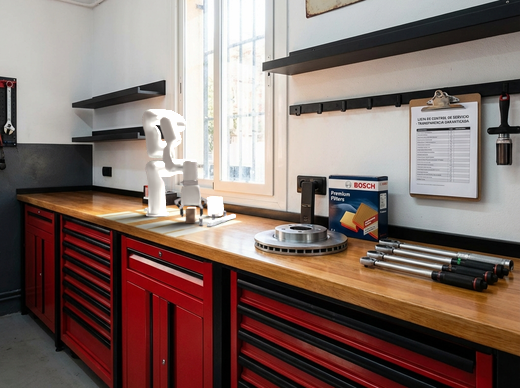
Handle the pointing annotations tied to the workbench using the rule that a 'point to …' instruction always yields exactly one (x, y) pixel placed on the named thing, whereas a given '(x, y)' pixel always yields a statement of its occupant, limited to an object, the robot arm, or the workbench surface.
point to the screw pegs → (212, 218)
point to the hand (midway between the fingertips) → (191, 216)
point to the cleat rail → (221, 220)
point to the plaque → (191, 215)
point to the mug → (215, 206)
